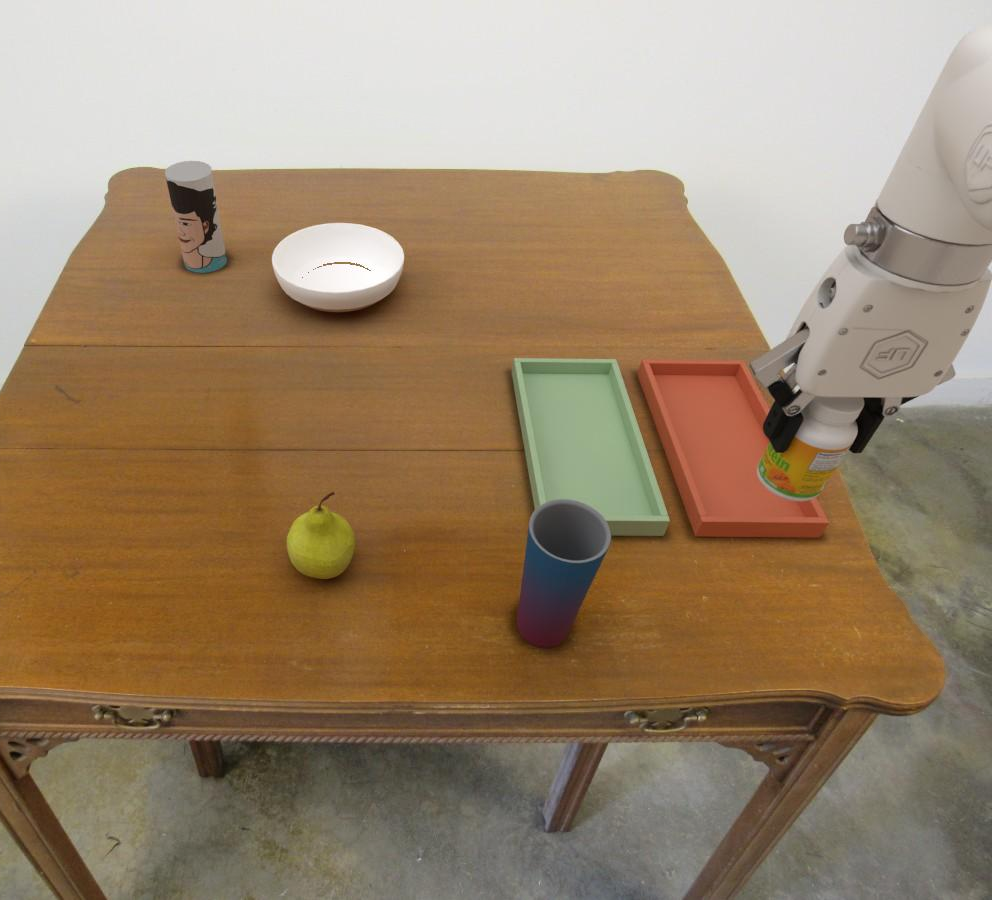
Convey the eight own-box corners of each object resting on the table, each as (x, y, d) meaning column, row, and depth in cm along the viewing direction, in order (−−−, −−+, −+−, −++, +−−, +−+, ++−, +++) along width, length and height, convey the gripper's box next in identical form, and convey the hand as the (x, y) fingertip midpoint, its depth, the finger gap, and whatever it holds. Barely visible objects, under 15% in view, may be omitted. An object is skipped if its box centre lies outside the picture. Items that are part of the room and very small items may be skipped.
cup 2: (508, 591, 75) (529, 494, 64) (576, 600, 74) (608, 503, 64) (506, 651, 70) (528, 557, 60) (578, 661, 70) (614, 567, 59)
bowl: (374, 341, 104) (373, 305, 100) (252, 310, 109) (246, 274, 105) (421, 272, 117) (423, 237, 113) (310, 247, 122) (308, 213, 117)
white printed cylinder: (186, 251, 121) (168, 161, 110) (228, 249, 121) (213, 160, 110) (181, 273, 116) (161, 182, 105) (225, 272, 116) (209, 180, 106)
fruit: (277, 578, 76) (264, 502, 67) (309, 530, 80) (300, 453, 72) (337, 601, 74) (331, 526, 66) (366, 551, 78) (364, 474, 70)
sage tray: (663, 536, 80) (670, 521, 78) (538, 535, 80) (542, 519, 78) (611, 374, 100) (616, 358, 98) (511, 372, 100) (513, 357, 98)
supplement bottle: (744, 460, 66) (786, 375, 59) (801, 455, 66) (850, 370, 59) (773, 506, 62) (822, 421, 55) (833, 500, 62) (889, 415, 56)
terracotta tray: (819, 537, 80) (829, 522, 79) (694, 536, 80) (702, 521, 78) (737, 375, 100) (744, 360, 98) (637, 374, 100) (641, 359, 98)
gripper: (818, 272, 45) (721, 474, 58) (1095, 274, 45) (937, 475, 58) (773, 213, 50) (693, 410, 63) (1021, 215, 51) (891, 411, 63)
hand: (811, 439), depth 61 cm, fingers closed on supplement bottle, 5 cm apart
